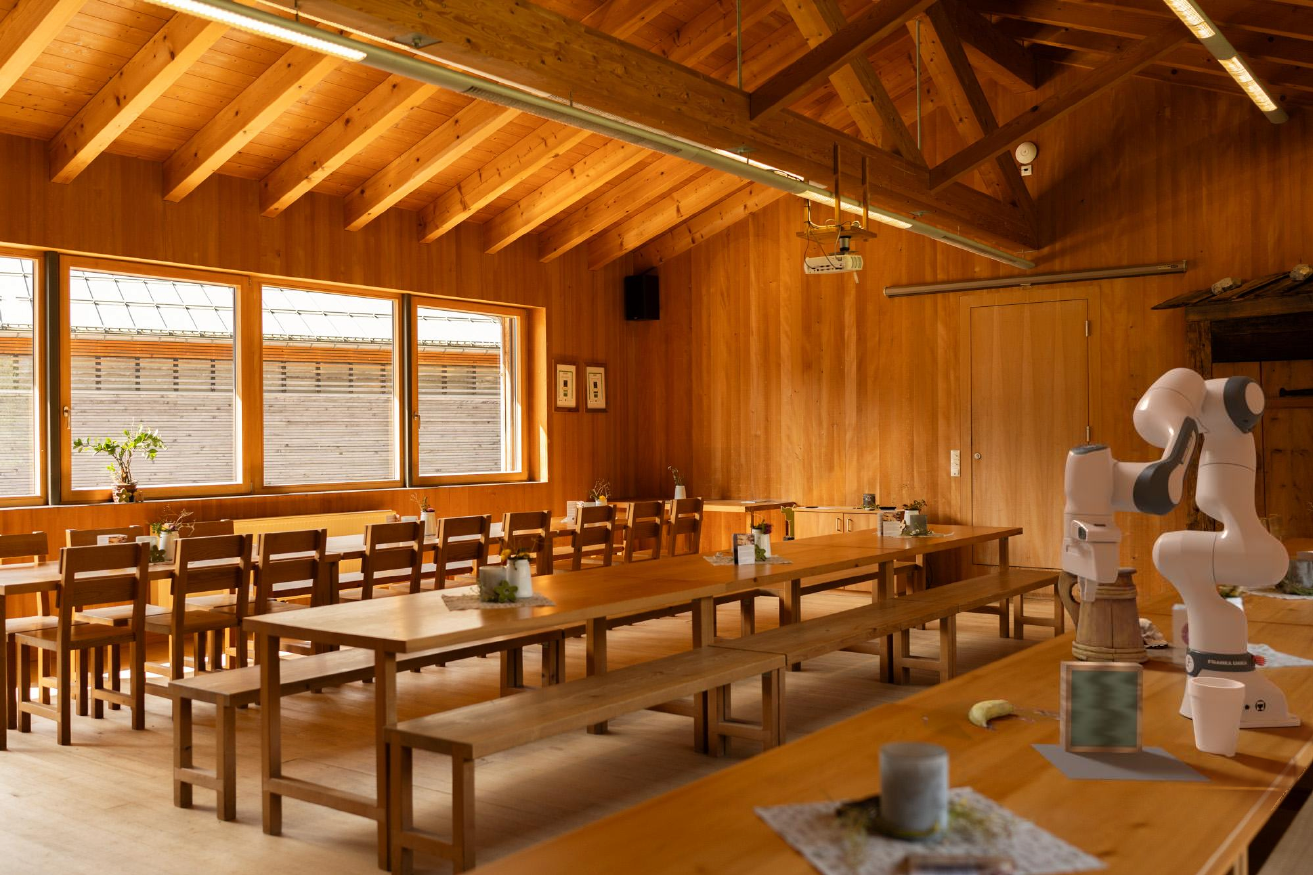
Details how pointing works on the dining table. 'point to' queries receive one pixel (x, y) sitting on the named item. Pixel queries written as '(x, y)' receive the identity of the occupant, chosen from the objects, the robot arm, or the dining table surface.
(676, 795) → the dining table surface
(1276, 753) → the dining table surface
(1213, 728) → the foam cup
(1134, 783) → the dining table surface
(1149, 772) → the mat
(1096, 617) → the tankard
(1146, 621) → the skull
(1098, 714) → the table sign
